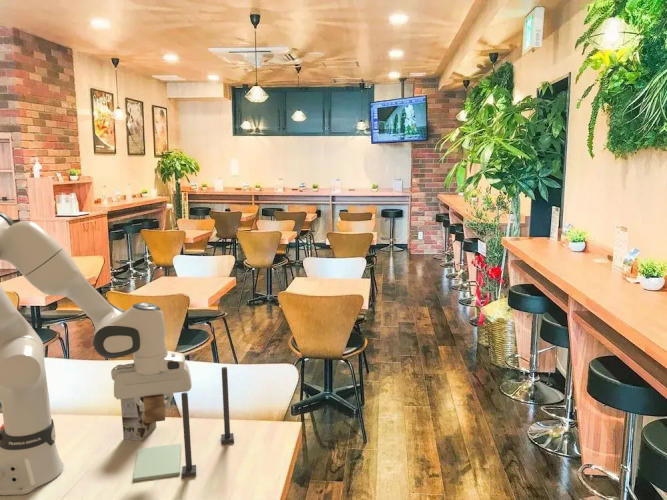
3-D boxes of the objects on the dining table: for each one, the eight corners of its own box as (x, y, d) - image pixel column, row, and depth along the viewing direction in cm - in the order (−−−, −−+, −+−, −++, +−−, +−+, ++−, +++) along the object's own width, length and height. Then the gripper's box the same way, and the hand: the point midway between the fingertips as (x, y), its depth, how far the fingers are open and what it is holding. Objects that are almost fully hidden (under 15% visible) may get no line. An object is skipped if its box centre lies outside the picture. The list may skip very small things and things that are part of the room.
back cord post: (221, 444, 167) (218, 371, 162) (221, 438, 170) (217, 366, 166) (234, 442, 167) (230, 369, 163) (233, 436, 171) (230, 365, 166)
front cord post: (182, 477, 150) (177, 397, 146) (182, 470, 154) (177, 391, 149) (196, 476, 151) (191, 396, 146) (196, 468, 154) (191, 390, 150)
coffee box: (142, 441, 169) (138, 391, 165) (122, 439, 170) (118, 389, 167) (157, 426, 177) (154, 378, 174) (138, 424, 179) (135, 377, 175)
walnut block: (145, 422, 152) (143, 399, 150) (147, 414, 157) (145, 391, 155) (165, 420, 153) (163, 396, 152) (166, 411, 158) (164, 388, 156)
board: (133, 481, 149) (132, 478, 149) (138, 451, 163) (138, 448, 163) (179, 474, 152) (179, 472, 151) (181, 445, 166) (181, 443, 166)
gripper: (108, 370, 146) (113, 419, 149) (189, 362, 151) (192, 409, 153) (112, 361, 152) (117, 408, 155) (189, 353, 157) (193, 399, 159)
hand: (155, 408), depth 154 cm, fingers closed on walnut block, 5 cm apart
